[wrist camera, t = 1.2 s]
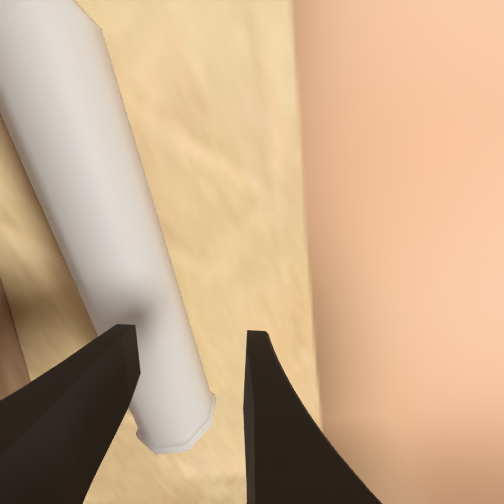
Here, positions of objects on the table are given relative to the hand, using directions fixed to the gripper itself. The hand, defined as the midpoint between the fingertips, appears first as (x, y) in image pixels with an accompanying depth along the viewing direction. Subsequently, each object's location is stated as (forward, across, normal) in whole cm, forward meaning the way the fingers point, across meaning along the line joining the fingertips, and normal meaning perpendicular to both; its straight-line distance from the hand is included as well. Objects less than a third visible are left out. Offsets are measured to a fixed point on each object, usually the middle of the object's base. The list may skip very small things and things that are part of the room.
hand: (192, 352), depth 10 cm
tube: (+10, +6, 0) cm, 11 cm away
